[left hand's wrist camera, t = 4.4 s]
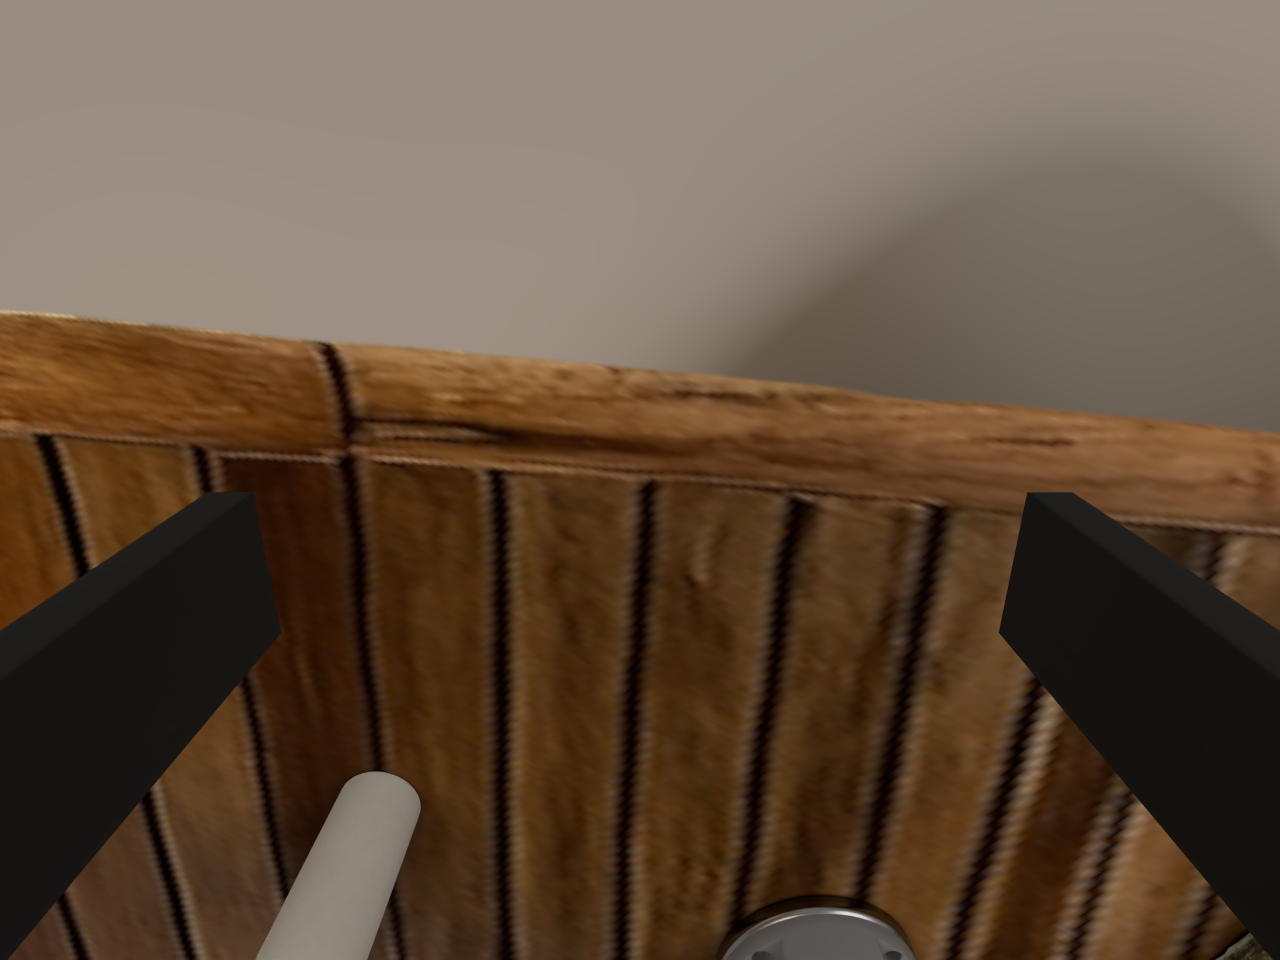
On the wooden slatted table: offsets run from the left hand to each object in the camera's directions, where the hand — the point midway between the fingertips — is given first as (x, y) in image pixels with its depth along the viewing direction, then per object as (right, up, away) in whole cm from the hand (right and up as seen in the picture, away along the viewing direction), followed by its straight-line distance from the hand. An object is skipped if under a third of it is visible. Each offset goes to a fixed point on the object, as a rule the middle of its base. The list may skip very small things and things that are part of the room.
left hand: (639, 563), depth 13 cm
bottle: (-18, -21, +38) cm, 47 cm away
